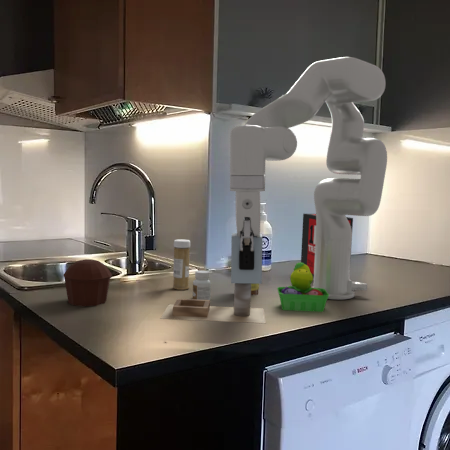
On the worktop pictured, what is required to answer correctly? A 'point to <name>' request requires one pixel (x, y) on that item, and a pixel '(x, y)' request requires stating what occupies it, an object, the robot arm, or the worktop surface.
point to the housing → (255, 274)
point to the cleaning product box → (311, 240)
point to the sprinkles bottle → (181, 264)
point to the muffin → (87, 283)
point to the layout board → (217, 309)
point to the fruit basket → (302, 292)
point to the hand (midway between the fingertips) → (246, 265)
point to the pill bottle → (202, 286)
